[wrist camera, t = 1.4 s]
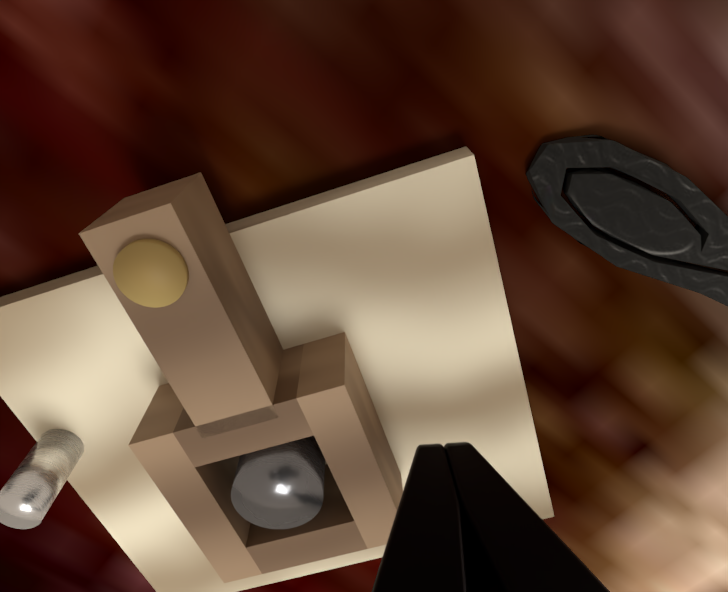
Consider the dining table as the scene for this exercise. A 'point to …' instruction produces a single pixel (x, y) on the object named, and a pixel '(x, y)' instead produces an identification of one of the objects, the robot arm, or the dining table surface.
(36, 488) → the dowel pin
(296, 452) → the grey round canister
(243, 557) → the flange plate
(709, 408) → the dining table surface
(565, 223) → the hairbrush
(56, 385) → the birch board
